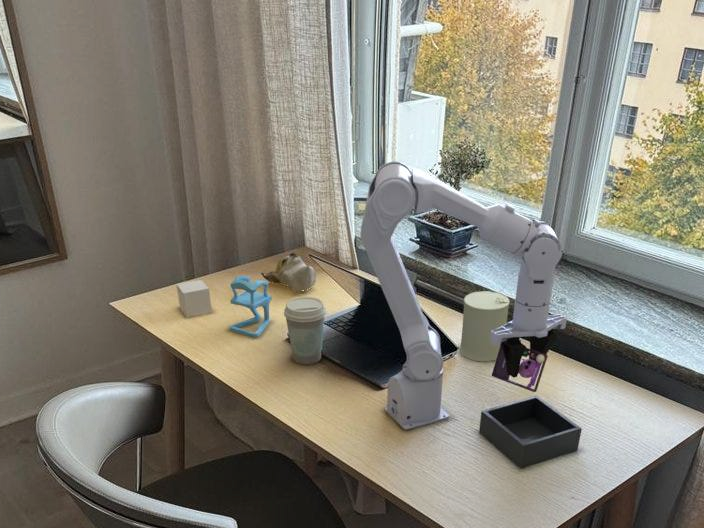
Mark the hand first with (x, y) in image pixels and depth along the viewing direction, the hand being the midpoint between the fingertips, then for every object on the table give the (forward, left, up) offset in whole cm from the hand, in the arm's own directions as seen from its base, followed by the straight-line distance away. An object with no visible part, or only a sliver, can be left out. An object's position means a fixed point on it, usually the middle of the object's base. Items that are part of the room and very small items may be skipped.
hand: (522, 372), depth 138 cm
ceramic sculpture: (-14, +75, -9) cm, 77 cm away
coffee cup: (-26, +38, -9) cm, 47 cm away
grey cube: (-40, +72, -9) cm, 83 cm away
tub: (-4, -8, -9) cm, 13 cm away
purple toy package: (0, 0, -2) cm, 2 cm away
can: (+8, +24, -9) cm, 27 cm away
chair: (-31, +57, -9) cm, 66 cm away
